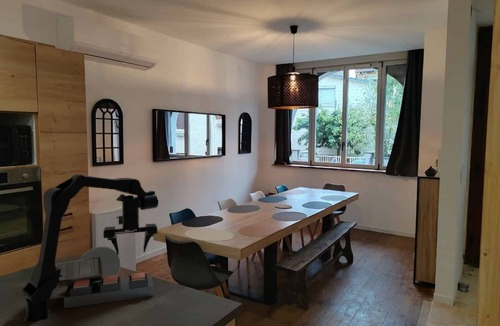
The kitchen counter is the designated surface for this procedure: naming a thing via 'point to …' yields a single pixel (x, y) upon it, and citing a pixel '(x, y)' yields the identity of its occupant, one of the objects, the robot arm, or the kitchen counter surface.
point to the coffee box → (79, 271)
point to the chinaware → (105, 260)
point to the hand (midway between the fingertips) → (131, 253)
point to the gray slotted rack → (108, 292)
